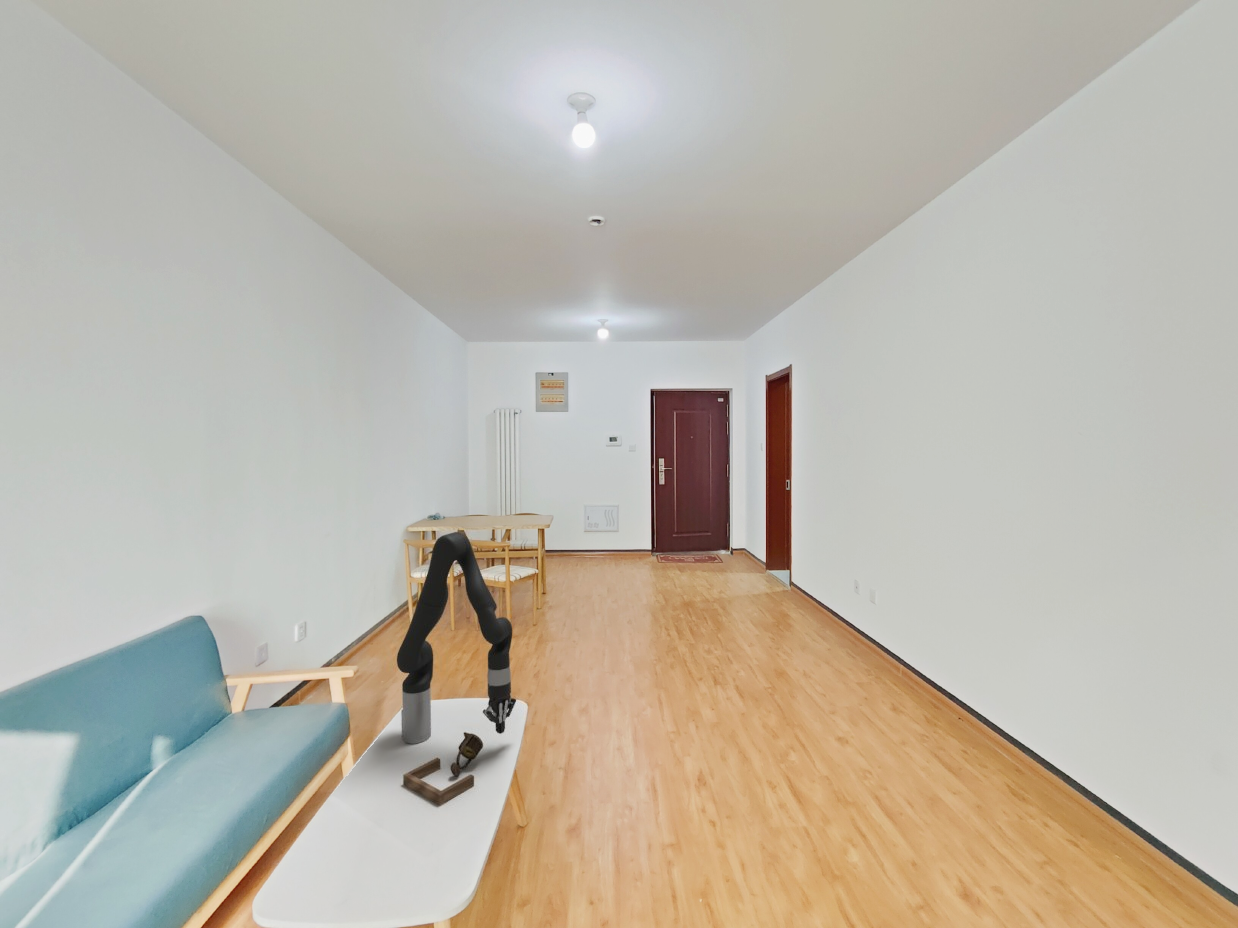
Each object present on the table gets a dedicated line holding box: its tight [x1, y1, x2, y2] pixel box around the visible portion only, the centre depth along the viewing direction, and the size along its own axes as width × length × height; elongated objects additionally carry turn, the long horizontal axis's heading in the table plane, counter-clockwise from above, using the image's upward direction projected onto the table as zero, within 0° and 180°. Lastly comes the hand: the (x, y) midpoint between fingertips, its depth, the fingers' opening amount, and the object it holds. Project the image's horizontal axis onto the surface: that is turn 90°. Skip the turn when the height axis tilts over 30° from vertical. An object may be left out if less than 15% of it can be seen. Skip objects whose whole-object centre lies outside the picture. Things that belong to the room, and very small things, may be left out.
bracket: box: [402, 757, 475, 806], centre depth 173 cm, size 18×12×3 cm
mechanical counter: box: [450, 731, 484, 777], centre depth 182 cm, size 7×13×10 cm, turn 174°
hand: (500, 732), depth 192 cm, fingers closed
